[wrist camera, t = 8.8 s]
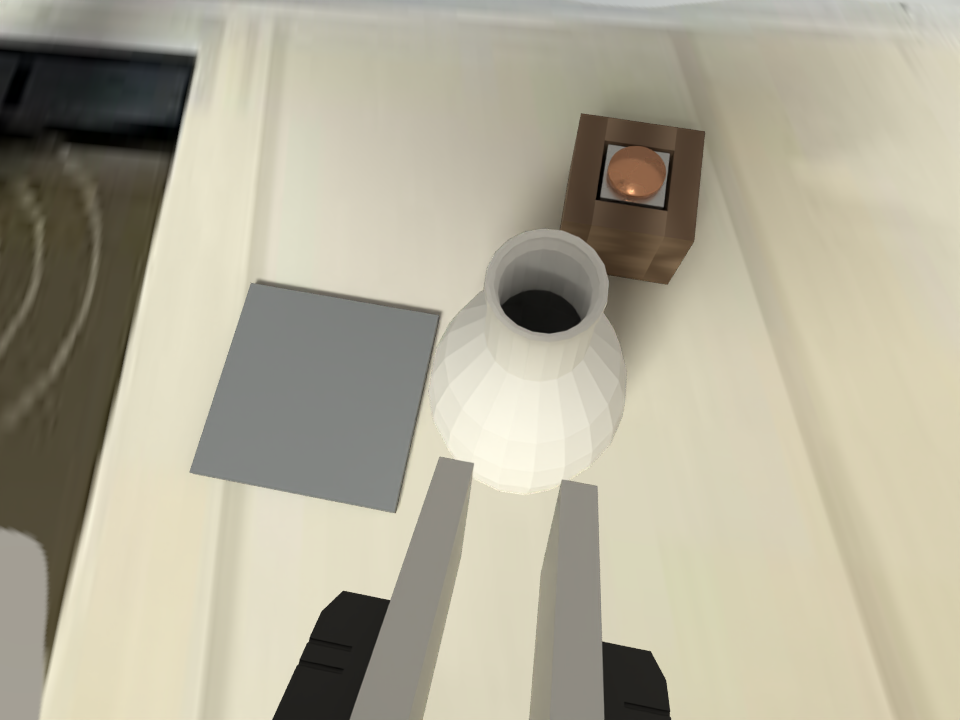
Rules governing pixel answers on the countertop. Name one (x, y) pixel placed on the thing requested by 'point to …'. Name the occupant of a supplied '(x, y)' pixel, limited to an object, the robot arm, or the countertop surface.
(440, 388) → the bottle
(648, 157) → the release button
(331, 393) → the mat
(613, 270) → the button housing
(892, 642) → the countertop surface
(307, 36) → the countertop surface
